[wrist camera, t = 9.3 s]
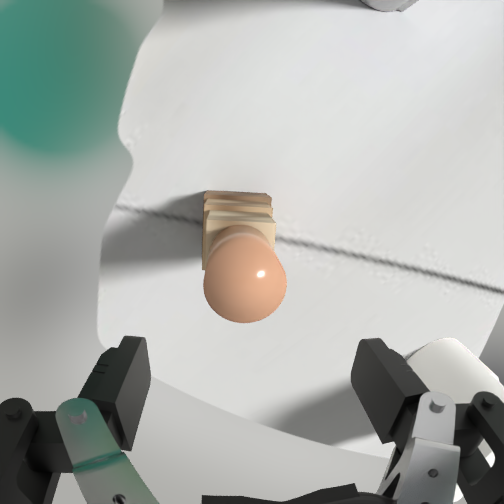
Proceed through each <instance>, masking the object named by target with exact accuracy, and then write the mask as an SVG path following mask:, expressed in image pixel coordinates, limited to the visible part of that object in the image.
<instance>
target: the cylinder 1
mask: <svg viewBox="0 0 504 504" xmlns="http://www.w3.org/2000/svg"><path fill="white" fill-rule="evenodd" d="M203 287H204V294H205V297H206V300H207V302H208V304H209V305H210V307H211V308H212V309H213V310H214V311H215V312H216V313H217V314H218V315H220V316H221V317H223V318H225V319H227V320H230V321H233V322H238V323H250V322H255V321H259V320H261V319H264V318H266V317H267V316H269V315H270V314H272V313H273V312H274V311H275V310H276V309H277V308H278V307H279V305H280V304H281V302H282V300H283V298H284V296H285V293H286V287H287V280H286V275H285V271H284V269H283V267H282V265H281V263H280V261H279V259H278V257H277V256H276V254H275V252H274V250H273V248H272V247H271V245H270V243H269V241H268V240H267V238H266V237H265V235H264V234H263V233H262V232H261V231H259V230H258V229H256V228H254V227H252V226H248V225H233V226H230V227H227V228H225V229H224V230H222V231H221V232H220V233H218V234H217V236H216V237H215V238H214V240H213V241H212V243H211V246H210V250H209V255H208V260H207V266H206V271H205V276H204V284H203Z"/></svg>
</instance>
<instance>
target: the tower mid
mask: <svg viewBox="0 0 504 504" xmlns="http://www.w3.org/2000/svg"><path fill="white" fill-rule="evenodd" d="M210 210H226V211H245V212H263V213H268V214H269V215H270V216H271V218H272V213H273V208H272V207H271V206H270V205H269V204H268V203H267V202H263V201H248V200H230V199H210V198H208V199H207V201H206V202H205V204H204V224H203V253H202V270H205V256H206V226H207V218H208V215H209V212H210Z"/></svg>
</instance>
